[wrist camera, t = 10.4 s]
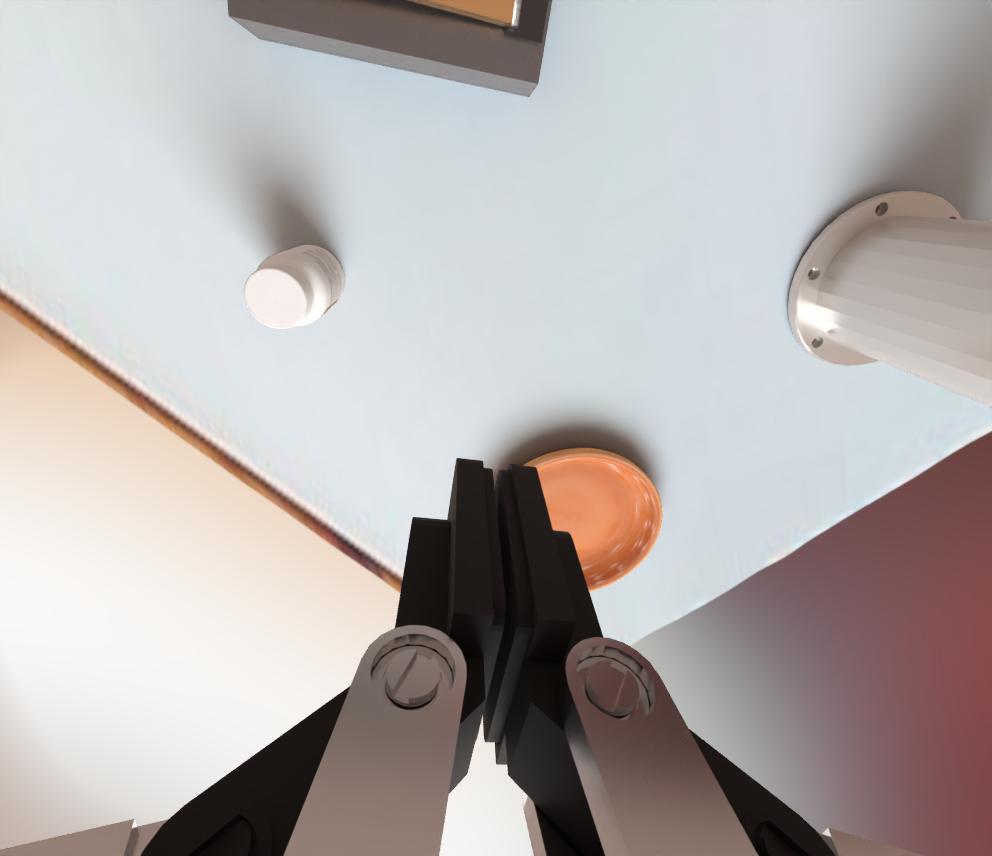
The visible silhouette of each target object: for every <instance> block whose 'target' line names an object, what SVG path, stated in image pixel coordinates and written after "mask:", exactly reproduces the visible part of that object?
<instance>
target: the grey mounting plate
mask: <svg viewBox="0 0 992 856" xmlns="http://www.w3.org/2000/svg"><path fill="white" fill-rule="evenodd" d="M551 4H552V0H522V5H521V12H520V19H519V26H518V28H516V29H513V28H508V27H504V26H500V25H497V24H493V23H489V22H486V21H482V20H478V19H475V18H471V17H467V16H464V15H460V14H456V13H452V12H449V11H445V10H441V9H438V8H434V7H430V6H427V5H423V4H419V3H415V2H412V1H408V0H228V13H229V17H231V18H232V19H233V20H235V21H236V22H237V23H239V24H240V25H242V26H243V27H244V28H246V29H247V30H248V31H250V32H251V33H252V34H254V35H255V36H256V37H258V38H259V39H262V40H267V41H272V42H276V43H281V44H286V45H290V46H295V47H300V48H304V49H309V50H313V51H318V52H323V53H327V54H332V55H337V56H341V57H346V58H351V59H355V60H360V61H365V62H369V63H374V64H378V65H383V66H388V67H392V68H397V69H402V70H406V71H411V72H416V73H420V74H425V75H430V76H434V77H439V78H444V79H448V80H453V81H457V82H462V83H467V84H471V85H476V86H481V87H485V88H490V89H495V90H499V91H504V92H509V93H513V94H518V95H522V96H527V97H529V96H530V95H531V93H532V92H533V90H534V89H535V88H536V86H537V85H538V81H539V75H540V69H541V63H542V57H543V51H544V45H545V39H546V34H547V28H548V22H549V16H550V10H551Z"/></svg>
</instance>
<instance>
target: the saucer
mask: <svg viewBox="0 0 992 856" xmlns="http://www.w3.org/2000/svg"><path fill="white" fill-rule="evenodd" d="M523 466H532V467H536V468H537V471H538V475H539V478H540V482H541V486H542V490H543V494H544V498H545V501H546V505H547V509H548V513H549V517H550V521H551V525H552V528H553V530H556V531H566V532H569V533H570V534H571V536H572V539H573V542H574V545H575V548H576V551H577V554H578V558H579V561H580V564H581V567H582V571H583V574H584V577H585V580H586V583H587V587H588V590H589V592H590V591H594V590H597V589H600V588H602V587H605V586H607V585H610V584H612V583H614V582H616V581H617V580H619V579H621V578H622V577H624V576H625V575H627V574H628V573H630V572H631V571H632V570H633V569H634V568H636V567H637V566H638V565H639V564H640V563H641V562H642V561H643V560H644V558H645V557H646V556H647V555H648V553H649V552H650V550H651V549H652V547H653V545H654V544H655V542H656V539H657V537H658V534H659V531H660V527H661V522H662V506H661V501H660V497H659V494H658V492H657V490H656V488H655V486H654V484H653V483H652V481H651V480H650V478H649V477H648V476H647V475H646V474H645V473H644V472H643V471H642V470H641V469H640V468H639V467H638V466H636V465H635V464H634V463H633V462H631V461H630V460H628V459H626V458H624V457H622V456H620V455H618V454H615V453H613V452H609V451H605V450H601V449H594V448H571V449H564V450H559V451H555V452H551V453H548V454H545V455H542V456H540V457H538V458H535V459H533V460H531V461H529V462H528V463H526V464H524V465H523Z"/></svg>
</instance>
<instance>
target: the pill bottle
mask: <svg viewBox="0 0 992 856" xmlns="http://www.w3.org/2000/svg"><path fill="white" fill-rule="evenodd" d="M344 287H345V276H344V272H343V269H342V267H341V265H340V263H339V262H338V260H337V259H336V258H335V257H334V256H333V255H332V254H331V253H330V252H329V251H327V250H326V249H324V248H322V247H319V246H315V245H300V246H297V247H294V248H291V249H288V250H285V251H282V252H280V253H276V254H274V255H271V256H269V257H268V258H266V259H265V260H264V261H263V262H262V263H261V264H260V265H259V266H258V268H257V270H256V271H255V272H254V273H252V274H251V275H250V277H249V278H248V279H247V281H246V283H245V287H244V298H245V302H246V305H247V307H248V309H249V311H250V312H251V314H252V315H253V316H254V317H255V318H256V319H257V320H258V321H260V322H261V323H263V324H265V325H266V326H269V327H272V328H276V329H287V328H290V327H293V326H302V325H307V324H310V323H312V322H314V321H315V320H317V319H318V318H320V317H321V316H322V315H323V314H324V313H325V312H326V311H327V310H328V309H330V308H331V307H332V306H333V305H334V304H335V303H336V302H337V301H338V300H339V299H340V297H341V296H342V294H343V291H344Z"/></svg>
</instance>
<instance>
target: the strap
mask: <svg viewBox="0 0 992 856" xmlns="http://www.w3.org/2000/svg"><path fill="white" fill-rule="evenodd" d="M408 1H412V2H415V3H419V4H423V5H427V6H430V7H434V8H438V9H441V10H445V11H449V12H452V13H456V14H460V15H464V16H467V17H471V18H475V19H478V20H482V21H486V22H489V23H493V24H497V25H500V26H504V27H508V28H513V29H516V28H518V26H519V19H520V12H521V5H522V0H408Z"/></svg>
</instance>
